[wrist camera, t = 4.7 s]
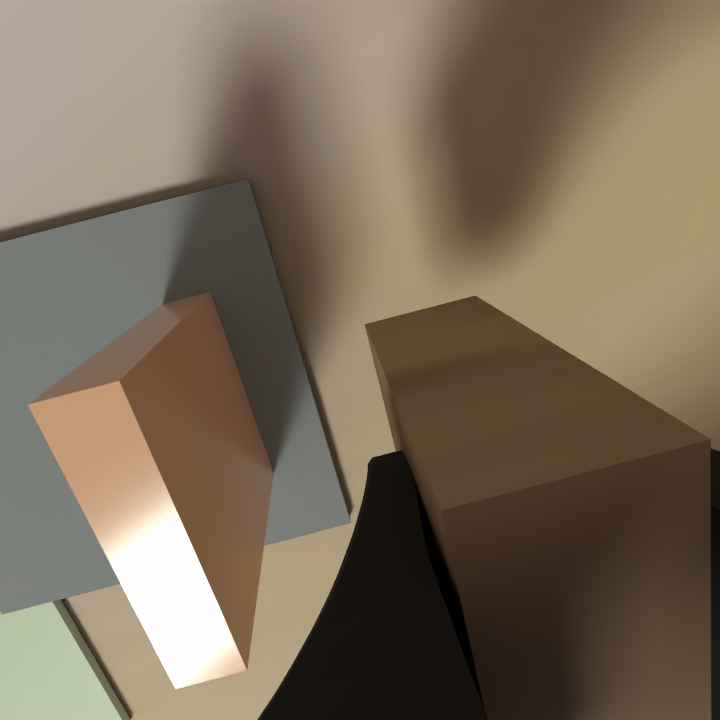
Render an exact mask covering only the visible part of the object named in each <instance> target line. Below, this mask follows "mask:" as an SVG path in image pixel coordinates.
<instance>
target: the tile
mask: <svg viewBox="0 0 720 720" xmlns="http://www.w3.org/2000/svg"><path fill="white" fill-rule="evenodd" d="M28 406H29V408H30V410H31V412H32V414H33V416H34V418H35V420H36V422H37V424H38V425H39V427H40V429H41V431H42V433H43V435H44V437H45V439H46V441H47V443H48V445H49V447H50V449H51V450H52V452H53V454H54V456H55V458H56V460H57V462H58V464H59V466H60V468H61V470H62V472H63V474H64V475H65V477H66V479H67V481H68V483H69V485H70V487H71V489H72V491H73V493H74V495H75V497H76V499H77V500H78V502H79V504H80V506H81V508H82V510H83V512H84V514H85V516H86V518H87V520H88V522H89V524H90V525H91V527H92V529H93V531H94V533H95V535H96V537H97V539H98V541H99V543H100V545H101V547H102V549H103V550H104V552H105V554H106V556H107V558H108V560H109V562H110V564H111V566H112V568H113V570H114V572H115V574H116V575H117V577H118V579H119V581H120V583H121V585H122V587H123V589H124V591H125V593H126V595H127V597H128V599H129V600H130V602H131V604H132V606H133V608H134V610H135V612H136V614H137V616H138V618H139V620H140V622H141V624H142V625H143V627H144V629H145V631H146V633H147V635H148V637H149V639H150V641H151V643H152V645H153V647H154V649H155V651H156V652H157V654H158V656H159V658H160V660H161V662H162V664H163V666H164V668H165V670H166V672H167V674H168V676H169V677H170V679H171V681H172V683H173V685H174V687H175V689H178V688H182V687H186V686H190V685H193V684H197V683H201V682H205V681H208V680H212V679H216V678H220V677H223V676H227V675H231V674H235V673H238V672H242V671H246V670H247V667H248V659H249V652H250V645H251V637H252V630H253V623H254V615H255V608H256V600H257V593H258V586H259V578H260V571H261V564H262V556H263V549H264V541H265V534H266V527H267V519H268V512H269V505H270V497H271V490H272V482H273V475H274V472H273V469H272V467H271V464H270V461H269V458H268V455H267V452H266V449H265V447H264V444H263V441H262V438H261V435H260V432H259V429H258V427H257V424H256V421H255V418H254V415H253V412H252V409H251V407H250V404H249V401H248V398H247V395H246V392H245V389H244V387H243V384H242V381H241V378H240V375H239V372H238V369H237V367H236V364H235V361H234V358H233V355H232V352H231V349H230V346H229V344H228V341H227V338H226V335H225V332H224V329H223V326H222V324H221V321H220V318H219V315H218V312H217V309H216V306H215V304H214V301H213V298H212V295H211V292H208V293H204V294H200V295H196V296H192V297H189V298H185V299H181V300H177V301H173V302H169V303H165V304H162V305H161V306H159V307H158V308H157V309H155V310H154V311H153V312H151V313H150V314H149V315H147V316H146V317H145V318H143V319H142V320H141V321H139V322H138V323H137V324H135V325H134V326H133V327H131V328H130V329H128V330H127V331H126V332H124V333H123V334H122V335H120V336H119V337H118V338H116V339H115V340H114V341H112V342H111V343H110V344H108V345H107V346H106V347H104V348H103V349H102V350H100V351H99V352H98V353H96V354H95V355H94V356H92V357H91V358H90V359H88V360H87V361H86V362H84V363H83V364H82V365H80V366H79V367H77V368H76V369H75V370H73V371H72V372H71V373H69V374H68V375H67V376H65V377H64V378H63V379H61V380H60V381H59V382H57V383H56V384H55V385H53V386H52V387H51V388H49V389H48V390H47V391H45V392H44V393H43V394H41V395H40V396H39V397H37V398H36V399H35V400H33V401H32V402H31V403H29V404H28Z"/></svg>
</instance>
